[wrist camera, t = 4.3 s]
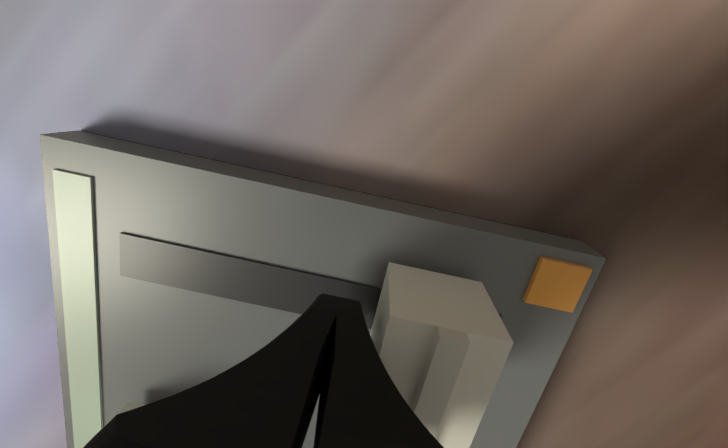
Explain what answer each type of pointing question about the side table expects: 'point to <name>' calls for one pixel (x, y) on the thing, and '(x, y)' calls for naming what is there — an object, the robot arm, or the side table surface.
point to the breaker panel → (264, 274)
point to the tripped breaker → (440, 348)
